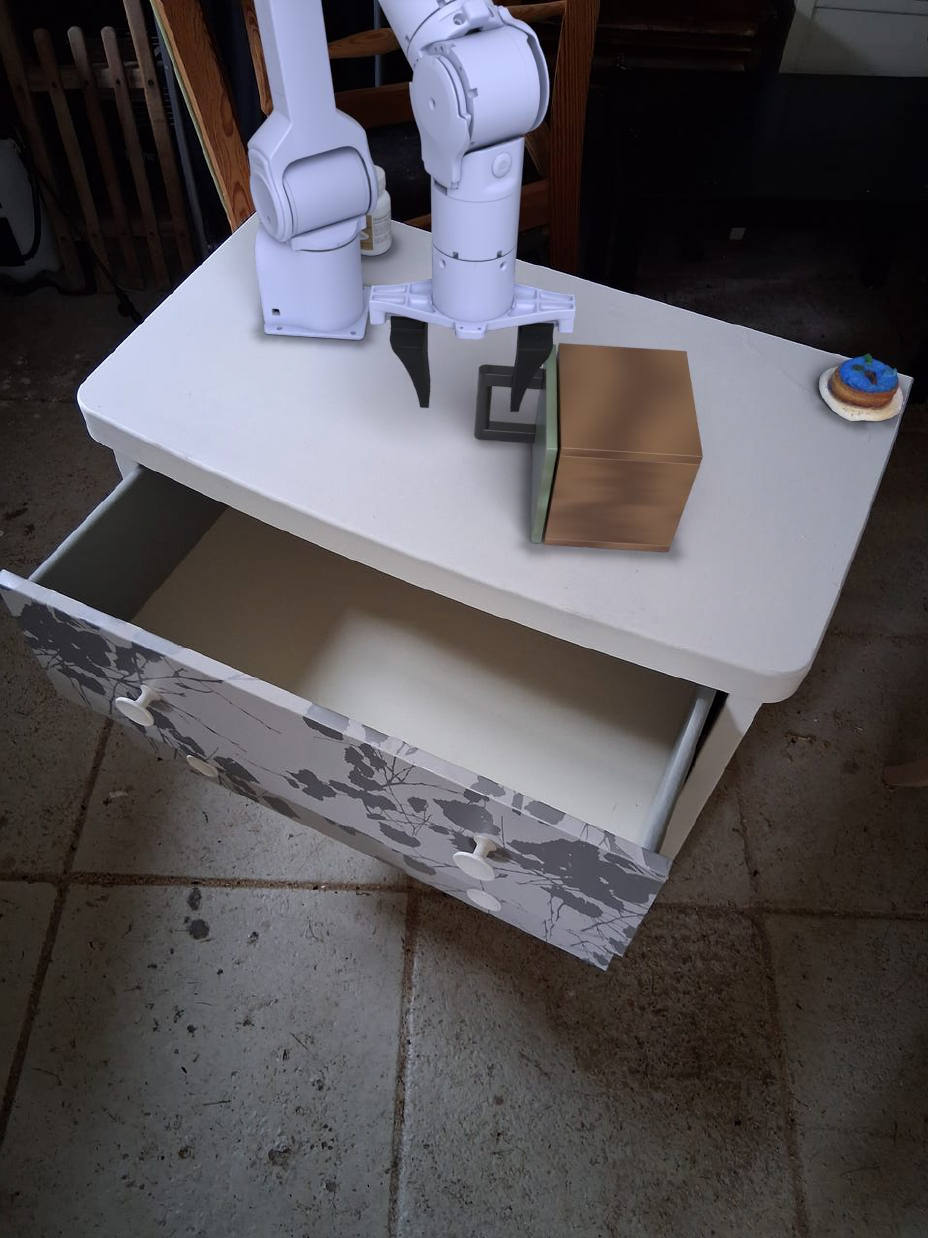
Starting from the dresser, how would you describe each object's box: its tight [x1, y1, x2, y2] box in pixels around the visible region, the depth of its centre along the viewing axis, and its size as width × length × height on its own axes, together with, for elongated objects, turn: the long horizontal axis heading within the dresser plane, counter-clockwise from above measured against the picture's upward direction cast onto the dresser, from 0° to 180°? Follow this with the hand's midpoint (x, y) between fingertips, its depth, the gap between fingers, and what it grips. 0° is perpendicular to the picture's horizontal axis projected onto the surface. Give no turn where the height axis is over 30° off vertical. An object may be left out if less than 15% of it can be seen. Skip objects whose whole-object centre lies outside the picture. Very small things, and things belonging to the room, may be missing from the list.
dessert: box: [818, 353, 904, 422], centre depth 82 cm, size 8×7×6 cm
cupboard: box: [543, 342, 704, 553], centre depth 70 cm, size 10×12×11 cm
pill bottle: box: [359, 164, 392, 257], centre depth 91 cm, size 4×4×8 cm
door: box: [473, 343, 557, 544], centre depth 70 cm, size 6×12×10 cm, turn 177°
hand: (469, 401), depth 70 cm, fingers open, 6 cm apart
